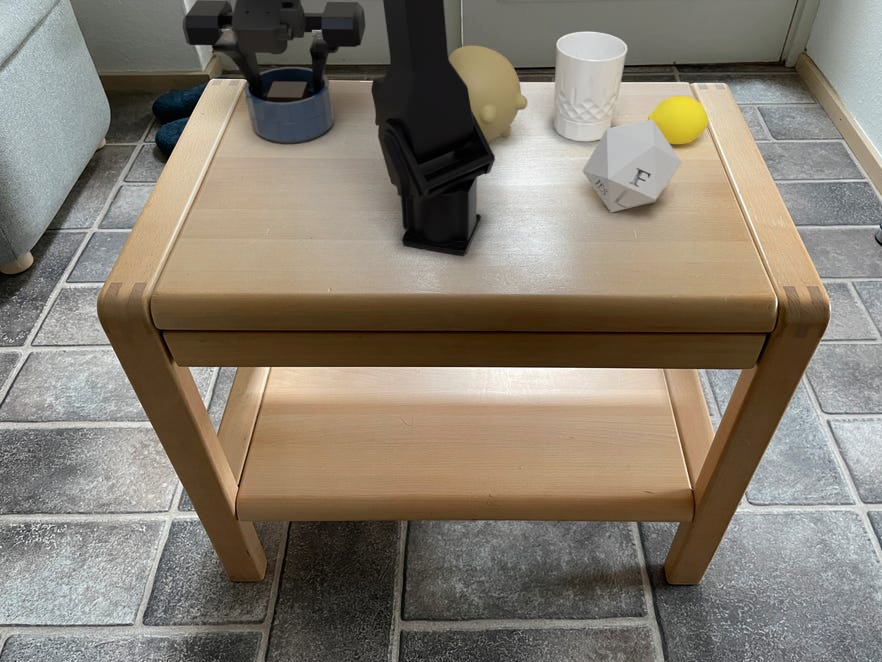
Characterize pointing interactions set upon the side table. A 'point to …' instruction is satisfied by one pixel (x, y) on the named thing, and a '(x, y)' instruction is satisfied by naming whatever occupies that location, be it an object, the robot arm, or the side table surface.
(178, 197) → the side table surface
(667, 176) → the die
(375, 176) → the side table surface
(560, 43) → the white cup
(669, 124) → the lemon
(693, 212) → the side table surface
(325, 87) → the bowl
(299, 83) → the block
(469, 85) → the toy pig
